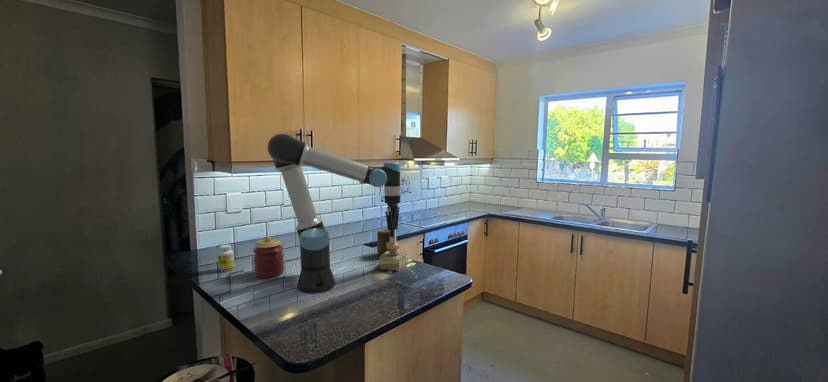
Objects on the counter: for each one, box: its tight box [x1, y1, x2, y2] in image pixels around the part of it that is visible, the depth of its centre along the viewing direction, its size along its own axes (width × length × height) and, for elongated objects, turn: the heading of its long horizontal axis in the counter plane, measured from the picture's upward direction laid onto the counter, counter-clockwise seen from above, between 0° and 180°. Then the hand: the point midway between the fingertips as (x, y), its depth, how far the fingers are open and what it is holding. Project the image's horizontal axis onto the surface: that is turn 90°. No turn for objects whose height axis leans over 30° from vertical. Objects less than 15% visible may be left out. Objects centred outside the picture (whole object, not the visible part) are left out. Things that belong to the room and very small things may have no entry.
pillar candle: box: [376, 228, 390, 258], centre depth 187 cm, size 10×10×15 cm
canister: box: [252, 235, 285, 279], centre depth 160 cm, size 13×13×18 cm
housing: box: [378, 251, 407, 272], centre depth 169 cm, size 10×10×6 cm
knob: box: [386, 241, 400, 257], centre depth 169 cm, size 6×6×8 cm
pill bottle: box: [217, 244, 235, 272], centre depth 165 cm, size 6×6×12 cm
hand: (393, 243), depth 168 cm, fingers closed
